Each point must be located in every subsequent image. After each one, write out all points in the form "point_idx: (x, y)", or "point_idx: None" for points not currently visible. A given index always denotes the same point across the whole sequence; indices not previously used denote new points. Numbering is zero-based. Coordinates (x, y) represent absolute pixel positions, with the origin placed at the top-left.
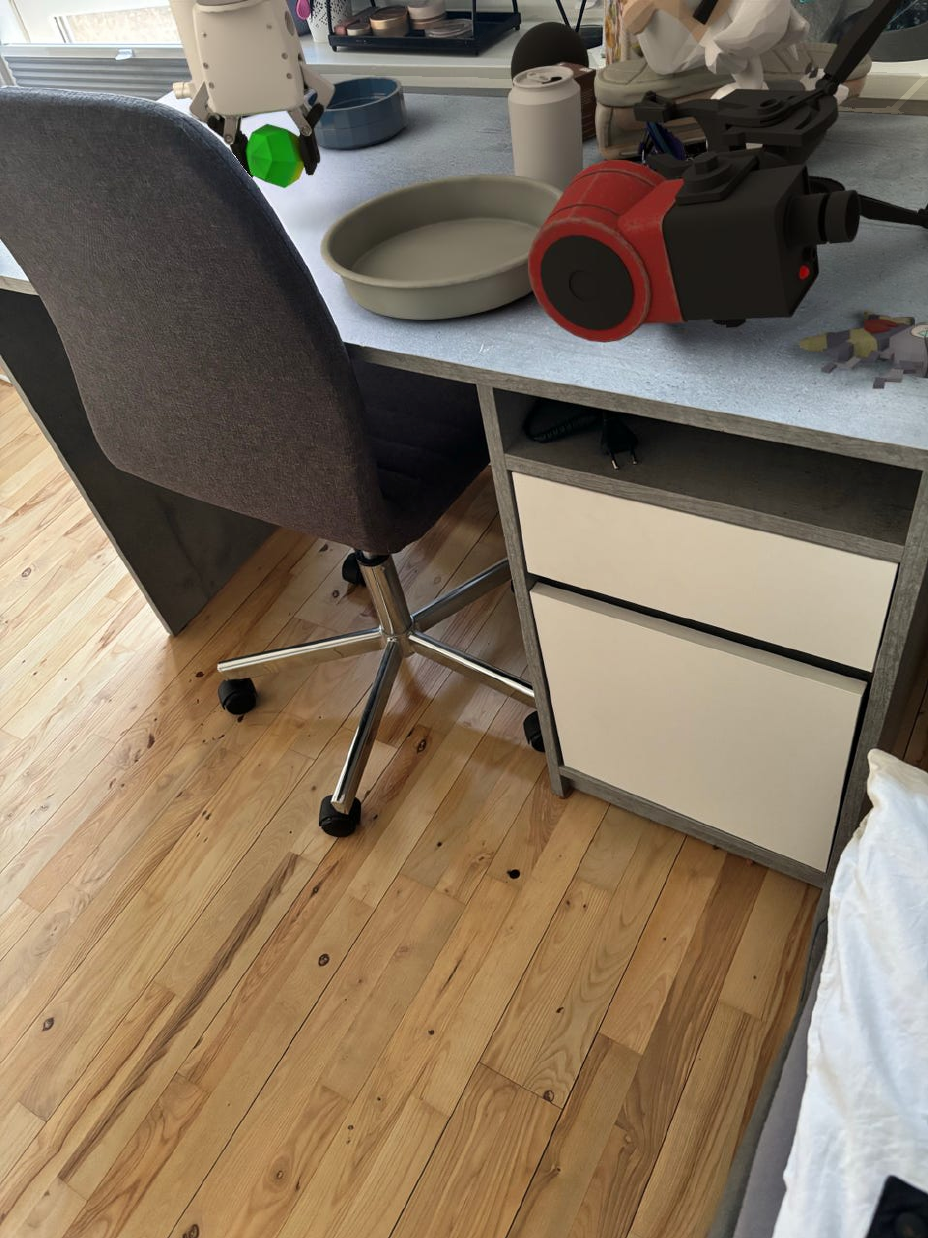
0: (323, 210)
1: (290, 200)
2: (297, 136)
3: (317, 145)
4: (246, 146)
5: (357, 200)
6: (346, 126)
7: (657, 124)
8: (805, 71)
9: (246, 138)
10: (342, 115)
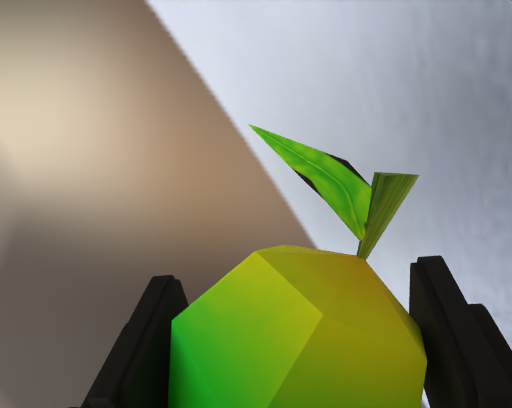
0: (361, 127)
1: (210, 28)
2: (420, 392)
3: (504, 343)
4: (155, 397)
5: (477, 56)
6: None
7: None
8: None
9: (135, 400)
10: None
